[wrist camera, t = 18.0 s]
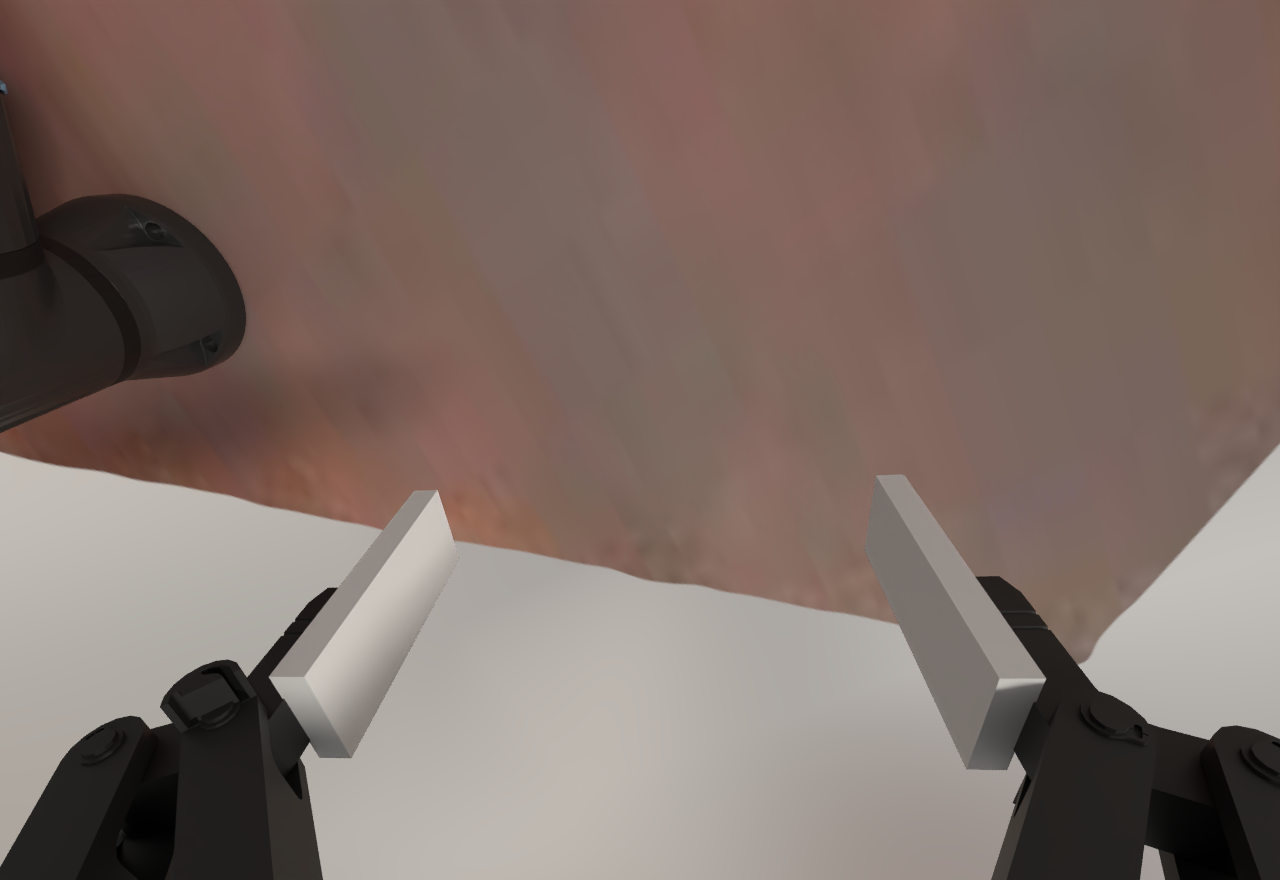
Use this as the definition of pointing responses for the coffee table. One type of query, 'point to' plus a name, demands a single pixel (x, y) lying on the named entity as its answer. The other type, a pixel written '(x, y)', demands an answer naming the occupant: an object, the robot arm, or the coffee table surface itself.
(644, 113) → the coffee table surface
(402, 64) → the coffee table surface
